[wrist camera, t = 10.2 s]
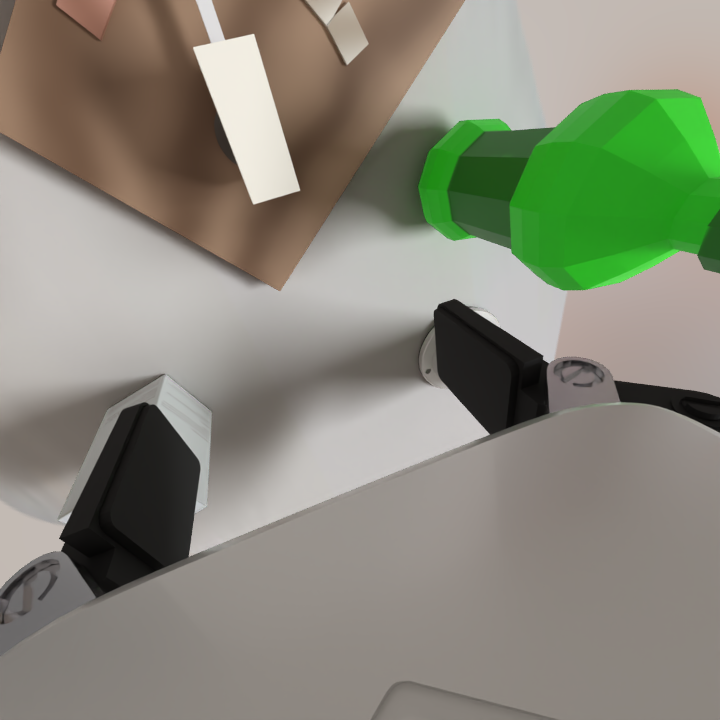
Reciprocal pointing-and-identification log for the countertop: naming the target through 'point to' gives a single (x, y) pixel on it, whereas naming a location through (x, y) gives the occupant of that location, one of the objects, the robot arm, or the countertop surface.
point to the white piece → (246, 109)
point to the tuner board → (212, 106)
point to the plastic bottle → (584, 188)
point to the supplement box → (182, 415)
